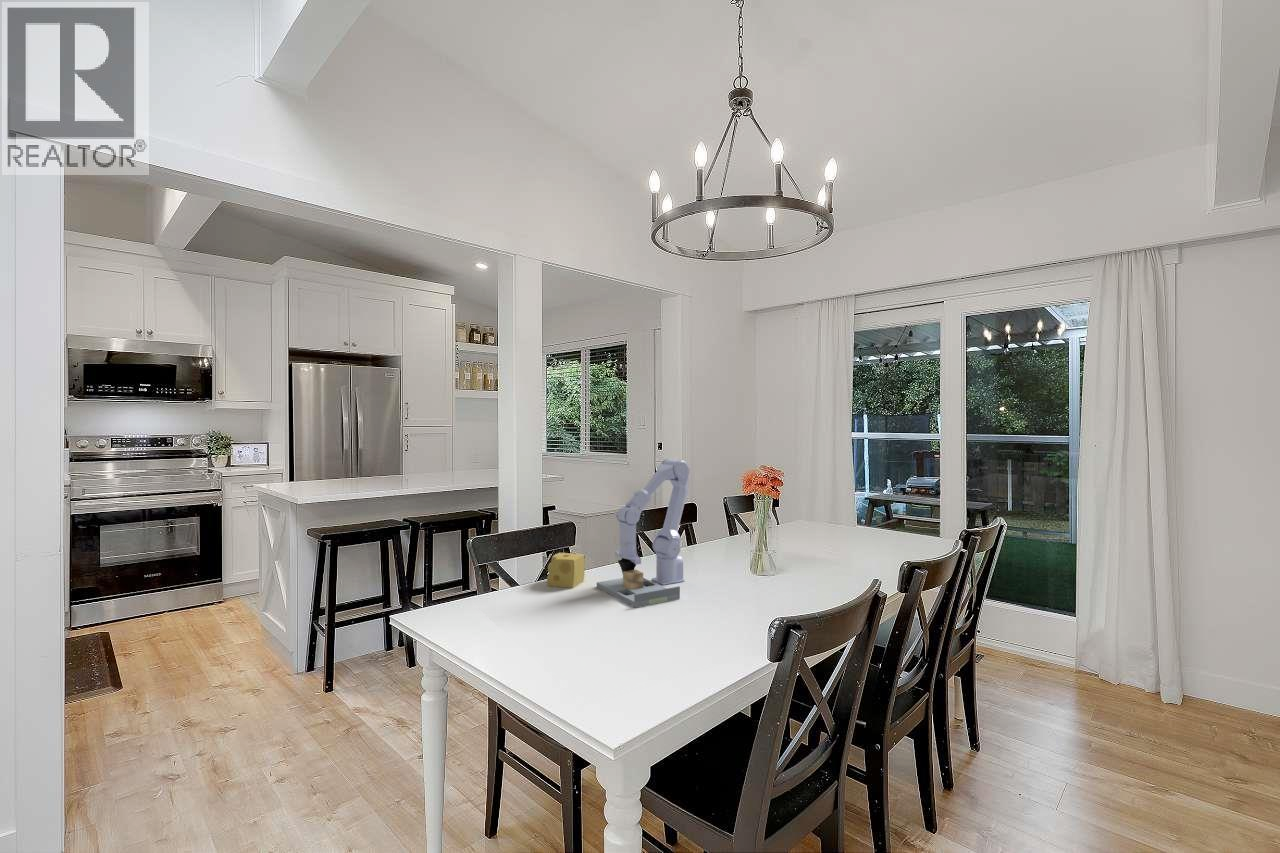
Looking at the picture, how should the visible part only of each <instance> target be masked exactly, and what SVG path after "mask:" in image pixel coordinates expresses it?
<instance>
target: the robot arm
mask: <svg viewBox="0 0 1280 853" xmlns="http://www.w3.org/2000/svg"><path fill="white" fill-rule="evenodd" d="M690 472H691V468H690V466H689V464H688V462H686V461H685V460H684V459H683V460H682V459H681V460H680V459H670V458H664V459H663V460H661V463H660V464H659V465H658V466H657V470H656V471H655V473H654V474H653V476H651V478H650V479H649V481H648V482H647V484H646V485H645V486H644V488H643V489H639V490H638V489H637V491H634V493H633V496H632V497H631V498H630V500H629V501H627V502H626V503H625V505H624V506H621V507H620V508H619V509H618V511H617V514H615V516H616V520H617V521H618V524H619V525H618V526H619V549H615V550H614V556H615V557H616V558H618V559H619V560H617V563H618V565H619V566H620V569H621V572H622V574H623V571H629V570H635V569H636V568H635V567H636V566H637V565H642V558H641V557H639V555H638V554H637V523H638V522H639V521H640V517H641V514H642V512H643V511H644V509H646V507H648V504H650V502H651V501H652V498H651V497H652V495H653V494H654V493H655V492H656V491H657V490H658V489H659V488H660V487H661V486H662V484H663V483H664V482H665V481H669V482H670V483H671V485H672V491H671V494H670V498H669V503H668V507H667V510H666V515H665V519H664V520H663V522H664V523H663V526H662V528H661V529H660V530H658V531H657V533H656V536H655V538H654V539H653V541H652V549H653V551H654V552H655V556H656V560H655V561H656V562H655V563H656V566H655V567H656V568H655V569H656V575H655V576H656V577H652V578H651V581H653V582H655V583H657V584H658V583H659V585H662V586H663V585H670V584H676V583H682V582H685V578H684V560H683V558H682V556H680V555H679V554H680V552H681V541H682V538H681V536H680V533H679V532H678V530H679V527H680V524H681V519H682V515H683V513H684V512H683V511H684V507H685V503H686V501H687V495H688V491H689V487H690V476H689V475H690Z"/></svg>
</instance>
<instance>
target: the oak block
mask: <svg viewBox="0 0 1280 853" xmlns="http://www.w3.org/2000/svg"><path fill="white" fill-rule="evenodd" d="M622 578H623V586H624V587H626V588H628V589H630V590H632V589H637V588H643V578H644V572H642V571H640V570H638V569H636V568H634V570H629V571H623V573H622Z"/></svg>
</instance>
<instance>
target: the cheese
mask: <svg viewBox="0 0 1280 853" xmlns="http://www.w3.org/2000/svg"><path fill="white" fill-rule="evenodd" d="M585 562H586V561H585V554H583V553H568V552H558V553H556V554H554V555H552V556H551V562H550V563H549V564H548V565H547V572H548V575H547V576H546V584H547V586H548V587H557V586H559V587H560V588H566V587H569V588H568V589H574V588H576V587H577V586H578V585H580V584H581V583H582V582H584V581H585V575H586V574H585V573H586V571H585V570H586V569H585ZM583 580H584V581H583ZM579 583H580V584H579ZM575 586H576V587H575Z"/></svg>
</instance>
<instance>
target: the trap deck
mask: <svg viewBox="0 0 1280 853" xmlns="http://www.w3.org/2000/svg"><path fill="white" fill-rule="evenodd" d="M596 588H598V589H600V590H601V591H604V592H605V593H607V594H609V595H611V596H613V597H615V598H616V597H617V598H616V599H618V598H619V600H620V601H622V602H624V603H626V604H627V605H629V606H631V605H632V607H633V606H634V608H635V607H636V608H639V607H640V606H641V607H645V605H646V606H650V605H654V604H655V603H656V604H660V602H661V603H666V602H669V601H670V602H671V601H676V600H675V599H677V600H680V599H679V598H681V595H680V594H681V593H680V592H681V587H680V586H673V587H668V588H667V587H665V586H663V585H662V584H658V583H657V582H655V581H652V580H649V579H646V578H644V577H643V588H637V589H632V590H630V589H628V588H626V587H624V586H623V577H621V578H616V579H609V580H602V581H597V582H596ZM665 601H666V602H665Z"/></svg>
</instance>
